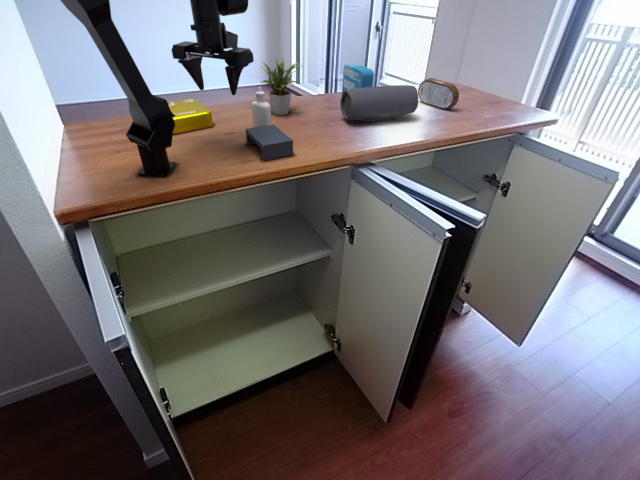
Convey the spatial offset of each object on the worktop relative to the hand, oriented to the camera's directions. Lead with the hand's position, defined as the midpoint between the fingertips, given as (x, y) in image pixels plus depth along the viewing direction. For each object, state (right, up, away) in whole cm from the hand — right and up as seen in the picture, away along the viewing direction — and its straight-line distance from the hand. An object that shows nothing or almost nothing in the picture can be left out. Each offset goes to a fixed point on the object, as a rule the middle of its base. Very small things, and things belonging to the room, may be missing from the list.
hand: (217, 92), depth 91 cm
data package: (+37, +11, +39) cm, 55 cm away
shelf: (+12, -12, +6) cm, 18 cm away
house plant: (+13, +4, +29) cm, 32 cm away
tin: (+65, +11, +40) cm, 78 cm away
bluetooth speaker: (+43, +2, +27) cm, 51 cm away
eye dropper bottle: (+8, -5, +16) cm, 19 cm away
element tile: (-16, -2, +19) cm, 25 cm away
